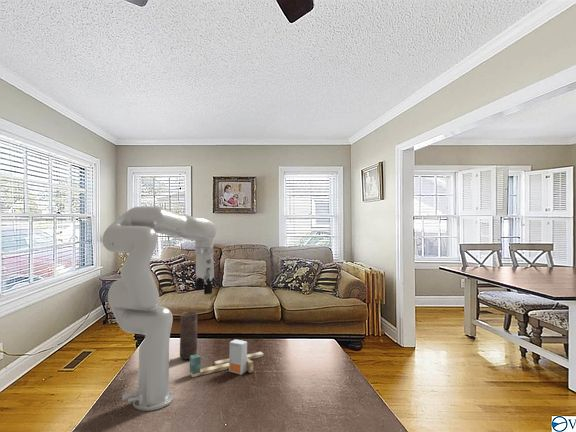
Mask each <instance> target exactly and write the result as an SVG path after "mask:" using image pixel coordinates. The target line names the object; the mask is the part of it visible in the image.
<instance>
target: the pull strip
mask: <svg viewBox="0 0 576 432" xmlns="http://www.w3.org/2000/svg"><path fill="white" fill-rule="evenodd" d="M201 358H202V357H201V356H200V355H199V354H198V353H197V354H195V355H190V359H189V374H190V376H191V377H192V378H194V377H198V376H203V375H207V374H208V375H209V374H212V373H216V372H220V371H225V370H229V363H225V364H221V365H212V366H207V367H203V368H202V367H201V361H202V360H201ZM246 372H248V373H249V374H251V373H253V372H254V361H253V360H252V359H249V358H247V371H246Z"/></svg>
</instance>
